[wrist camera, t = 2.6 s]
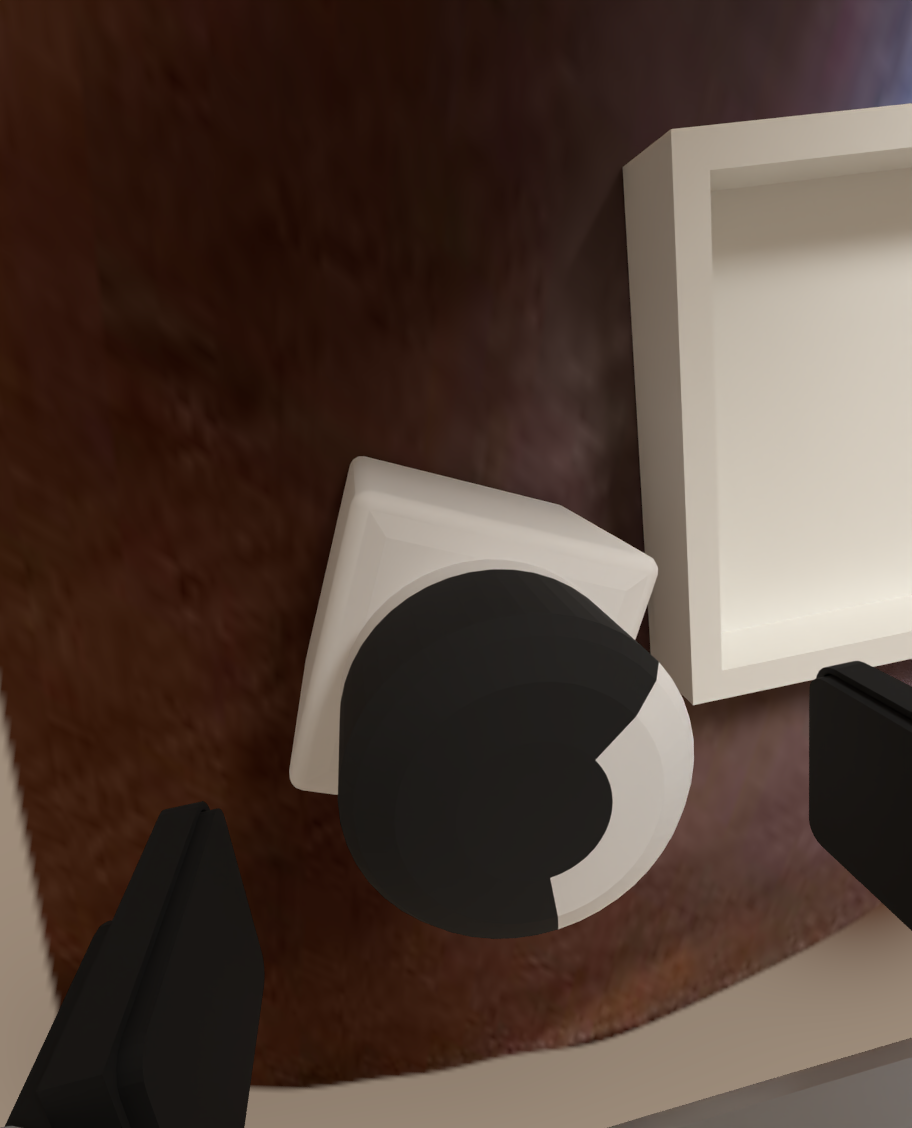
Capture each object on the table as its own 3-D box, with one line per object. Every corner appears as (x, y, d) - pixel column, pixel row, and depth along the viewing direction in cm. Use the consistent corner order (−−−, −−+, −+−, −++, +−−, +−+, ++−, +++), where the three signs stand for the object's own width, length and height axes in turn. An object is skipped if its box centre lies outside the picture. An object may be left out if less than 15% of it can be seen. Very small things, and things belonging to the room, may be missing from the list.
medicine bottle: (303, 664, 22) (255, 982, 10) (352, 452, 20) (359, 544, 9) (507, 700, 23) (665, 1011, 12) (567, 505, 22) (816, 644, 10)
